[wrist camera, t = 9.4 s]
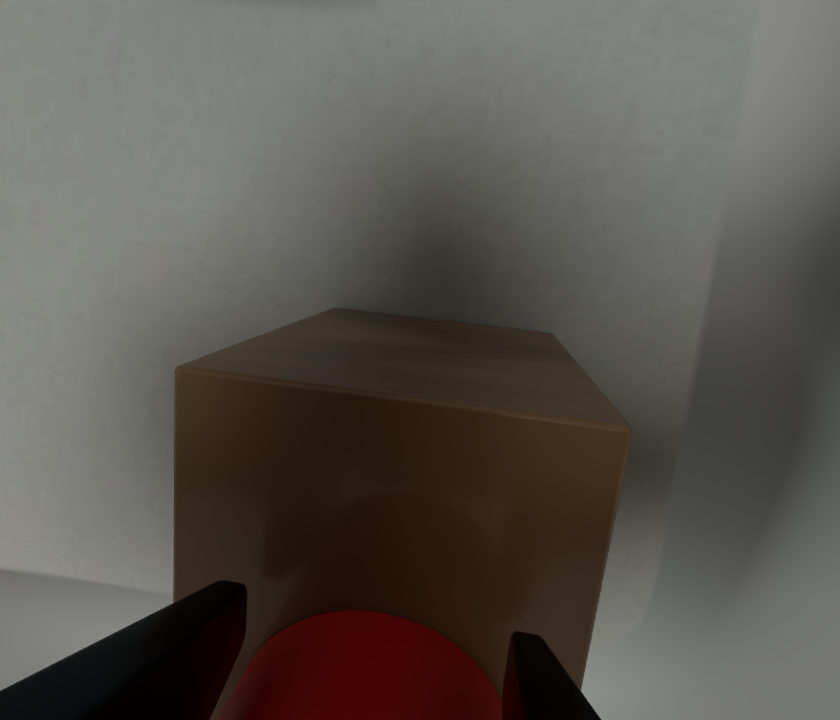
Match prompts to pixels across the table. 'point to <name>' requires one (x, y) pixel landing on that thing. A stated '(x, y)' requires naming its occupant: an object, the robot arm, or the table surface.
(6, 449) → the table surface
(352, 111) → the table surface
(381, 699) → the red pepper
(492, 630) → the block
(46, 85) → the table surface
